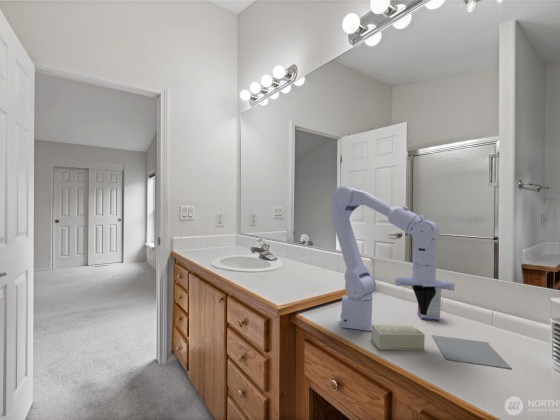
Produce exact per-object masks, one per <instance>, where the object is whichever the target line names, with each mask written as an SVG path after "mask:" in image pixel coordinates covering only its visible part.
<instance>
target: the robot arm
mask: <svg viewBox="0 0 560 420" xmlns="http://www.w3.org/2000/svg"><path fill="white" fill-rule="evenodd" d="M330 199H331V202H332V208H331V220H332V224H333V227H334V230H335V233H336V237H337V240H338V241H337V242H338V244H339V246H340V249H341V253H342V254H341V255H342V256H343V257H342V258H343V260H344V261H343V262H344V263H345V266H346V271H345V273H344V275H343V276H344V280H345V282H344V283H345V284H344V289H345V292H346V294H347V295H345V294H344V295H342V297H341V298H342V299H341V313H340V320H341V323H340V324H341V325H340V327H341V328H343V329H344V328H345V329H351V330H352V329H353V330H360V331H367V332H371V331H372V325H374V324H373V323H374V322H373V320H372V319H373V317H372V315H373V292H374V291H375V290H376V288H377V287H376V286H377V282H376V280H375V278H374V277H373V276H372V274H371V272H370V269H369V268H368V267H367V266H365V264H364V262H363V259H362V255H361V252H360V249H359V245H358V242H357V239H356V237H355V233H354V230H353V226H352V223H351V220H350V217H351V215H352V214H353V212H354V211H356V209H357V208H359V207H360V206H365V207H368V208H370V209H372V210H374V211H376V212H378V213H380V214H381V215H383V216H386V217H387V219H388V223H389V224H391V225H392V226H395V227H396V228H398V229H400V230H402V231H403V232H405V233H407V235H410V236H411V238H412V239H413V250H412V252H413V254H412V275H411V276H412V277H400V276H399V277H397V276H395V277H394V284H395V286H397V287H401V286H403V287H411V288H412V290H413V293H414V295H415V298H416V301H417V306H418V305H419V312H420V314H421V315H427V310H428V307H429V305H430V302H431V301H432V299H433V297H434V296H435V294H436V290H435V288H436V289H441V290H447V291H453V292H454V291H455V285H456V283H455V282H453V281H448V280H441V279H437V239H436V238H437V237H439V234H440V228H439V226H438V224H437V223H435V221H433V220H432V219H424V218H425V215H422V214H420V215H418V214H417V213H415V212H413V211H410V210H409V209H410V208H409V207H408V206H406V205H403V206H401V205H398V206H394V207H393V206H392V205H390V204H388V203H387V202H385V201H383V200H382V199H380V198H378V197H377V196H374V195H373V194H372V193H369V192H367V191H365V190H361V189H359V188H358V187H347V186H343V185H342V186H339V187H337V188H336V189H335V190H334V192H333V194H332V195H331V197H330Z"/></svg>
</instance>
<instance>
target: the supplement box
mask: <svg viewBox="0 0 560 420" xmlns="http://www.w3.org/2000/svg"><path fill="white" fill-rule="evenodd" d="M435 290H436V294H435V296H434V297H433V299H432V301H431V302H430V305H429V307H428V310H427V315H421V314H420V312H419V305H418V304H417V315H418V316H419V318H420V319H421V320H423V321H432V320H433V321H432V322H441V307H442V306H441V303H442V302H441V301H442V289H436V288H435Z"/></svg>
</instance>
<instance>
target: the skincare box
mask: <svg viewBox="0 0 560 420" xmlns="http://www.w3.org/2000/svg"><path fill="white" fill-rule="evenodd" d="M370 332H371V334H370V335H371V336H370V337H371V339H370V340H371V342H372V343H373V344H374V346H375V347H376V348H377V349H378V350H379V351H425V339H426V338H425V333H424V332H422V331H421V330H420V329H419V328H417V327H416V326H415V325H414V324H413V325H410V324H406V325H403V324H402V325H401V324H400V325H399V324H398V325H395V324H393V325H392V324H390V325H389V324H373V325H372V331H370Z"/></svg>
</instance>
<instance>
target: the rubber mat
mask: <svg viewBox="0 0 560 420" xmlns="http://www.w3.org/2000/svg"><path fill="white" fill-rule="evenodd" d="M431 337H432V338H433V340H434V342H435V344H436V346H437V347H438V350H440V353H441V354H442V356H443V357H444V359H445V361H454V362H461V363H467V364H473V365H474V364H475V365H479V366H487V367H495V368H501V369H506V370H507V369H508V370H513V368H512V367H511V365H510V364H508V362H506V361H505V359H503V357H502V356H501V355H500V354H499V353H498V352H497V351H496V350H495V349H494V348H493V347H492V346H491V345H490V344H489V343H488V342H487V341H479V340H473V339H465V338H457V337H449V336H441V335H436V334H435V335H433V334H432V335H431Z"/></svg>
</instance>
